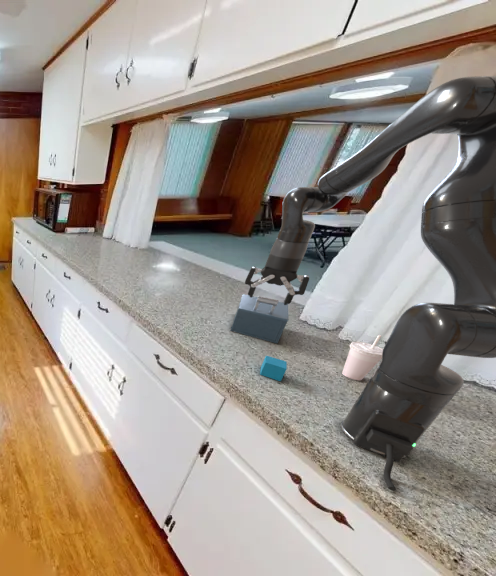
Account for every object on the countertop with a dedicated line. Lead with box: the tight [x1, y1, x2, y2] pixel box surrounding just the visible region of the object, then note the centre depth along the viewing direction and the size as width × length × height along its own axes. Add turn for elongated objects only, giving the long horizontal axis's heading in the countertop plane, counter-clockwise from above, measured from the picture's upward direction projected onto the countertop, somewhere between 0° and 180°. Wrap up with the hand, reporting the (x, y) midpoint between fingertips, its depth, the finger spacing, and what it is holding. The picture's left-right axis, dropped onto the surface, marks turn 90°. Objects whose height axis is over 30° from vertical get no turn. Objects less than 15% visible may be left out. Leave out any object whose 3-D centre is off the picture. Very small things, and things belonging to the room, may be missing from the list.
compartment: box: [230, 299, 288, 344], centre depth 106 cm, size 15×13×9 cm
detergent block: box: [259, 355, 288, 382], centre depth 84 cm, size 4×4×4 cm
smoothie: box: [341, 334, 383, 381], centre depth 81 cm, size 6×6×14 cm
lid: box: [237, 293, 290, 323], centre depth 103 cm, size 15×13×6 cm
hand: (267, 300), depth 98 cm, fingers open, 8 cm apart
